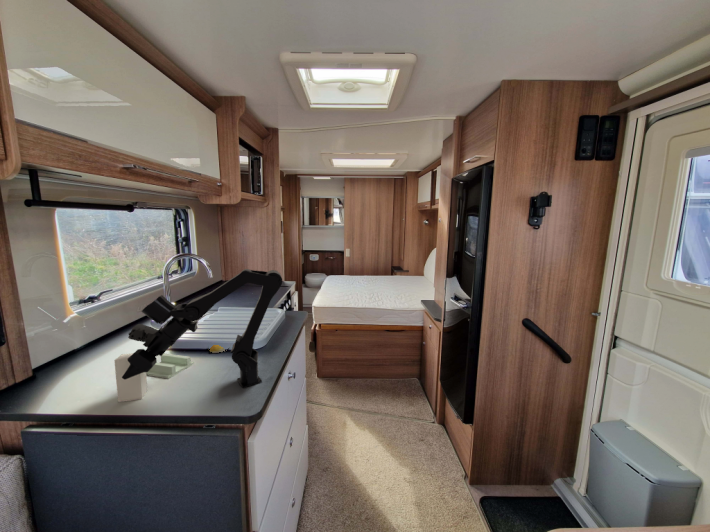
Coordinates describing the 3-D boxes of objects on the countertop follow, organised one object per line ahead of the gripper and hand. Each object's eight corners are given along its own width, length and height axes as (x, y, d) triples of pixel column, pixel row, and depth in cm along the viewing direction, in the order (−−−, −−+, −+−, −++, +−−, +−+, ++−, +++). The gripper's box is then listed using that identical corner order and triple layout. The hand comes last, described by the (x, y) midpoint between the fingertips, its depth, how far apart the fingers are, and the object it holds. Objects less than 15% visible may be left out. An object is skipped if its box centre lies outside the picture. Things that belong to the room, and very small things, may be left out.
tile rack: (193, 364, 106) (193, 355, 105) (168, 378, 95) (168, 369, 95) (167, 360, 108) (167, 351, 108) (140, 374, 98) (139, 364, 97)
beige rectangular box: (147, 391, 87) (144, 352, 86) (142, 398, 84) (138, 357, 82) (124, 394, 86) (121, 354, 84) (118, 402, 82) (114, 360, 80)
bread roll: (212, 355, 114) (211, 346, 113) (206, 348, 120) (206, 339, 120) (233, 350, 119) (232, 341, 119) (226, 343, 126) (226, 335, 125)
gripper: (159, 307, 92) (122, 342, 90) (134, 326, 74) (86, 370, 72) (187, 328, 95) (152, 362, 93) (169, 351, 78) (125, 393, 76)
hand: (131, 370), depth 84 cm, fingers open, 9 cm apart
